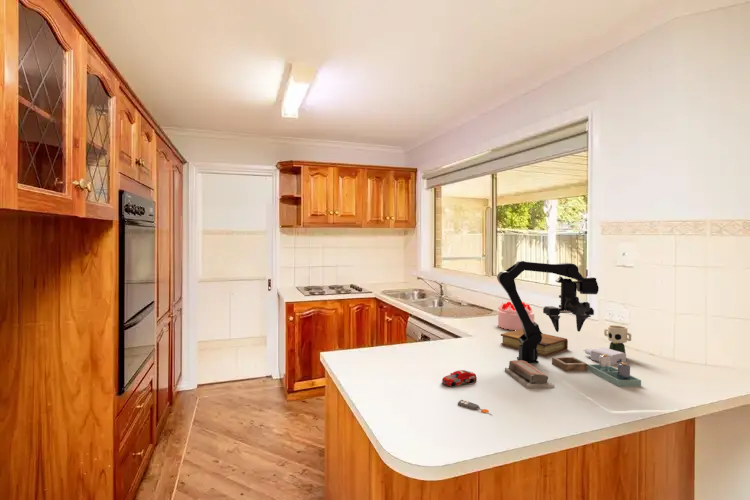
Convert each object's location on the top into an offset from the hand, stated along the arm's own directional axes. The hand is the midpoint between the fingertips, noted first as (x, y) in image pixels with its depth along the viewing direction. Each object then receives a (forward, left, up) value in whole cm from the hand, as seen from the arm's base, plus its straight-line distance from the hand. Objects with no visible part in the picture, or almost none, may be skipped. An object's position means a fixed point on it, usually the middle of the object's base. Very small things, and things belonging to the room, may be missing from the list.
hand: (567, 331), depth 153 cm
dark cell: (+6, -23, -12) cm, 27 cm away
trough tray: (+6, -18, -13) cm, 23 cm away
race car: (-51, -18, -14) cm, 56 cm away
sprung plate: (-3, -6, -13) cm, 15 cm away
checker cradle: (-3, -6, -13) cm, 15 cm away
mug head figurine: (+27, +7, -13) cm, 31 cm away
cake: (+8, +64, -13) cm, 66 cm away
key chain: (-52, -39, -14) cm, 66 cm away
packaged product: (-25, -16, -14) cm, 33 cm away
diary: (-2, +24, -14) cm, 28 cm away
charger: (+17, +4, -14) cm, 22 cm away
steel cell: (+6, -14, -12) cm, 20 cm away
